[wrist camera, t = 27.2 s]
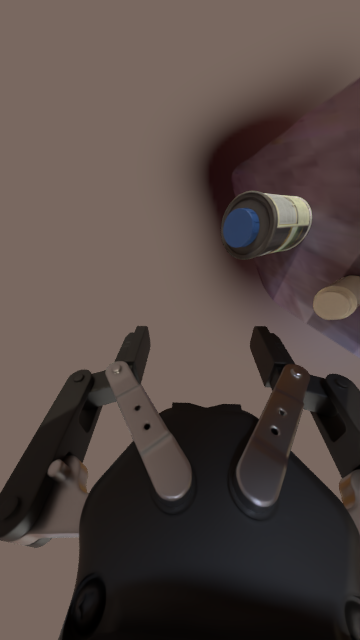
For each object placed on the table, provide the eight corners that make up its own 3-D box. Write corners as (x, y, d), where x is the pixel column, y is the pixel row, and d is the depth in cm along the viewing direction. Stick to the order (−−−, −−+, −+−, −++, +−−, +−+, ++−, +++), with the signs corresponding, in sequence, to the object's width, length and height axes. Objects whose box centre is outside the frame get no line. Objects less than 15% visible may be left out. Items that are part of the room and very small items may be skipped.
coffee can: (303, 253, 37) (266, 263, 30) (257, 248, 44) (218, 256, 37) (321, 192, 32) (282, 186, 25) (266, 198, 39) (223, 194, 32)
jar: (335, 274, 34) (313, 286, 29) (376, 276, 30) (359, 291, 24) (328, 301, 36) (306, 317, 31) (365, 307, 32) (347, 327, 27)
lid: (247, 252, 32) (240, 254, 31) (225, 236, 34) (218, 236, 33) (266, 218, 27) (259, 218, 26) (239, 202, 30) (232, 201, 29)
